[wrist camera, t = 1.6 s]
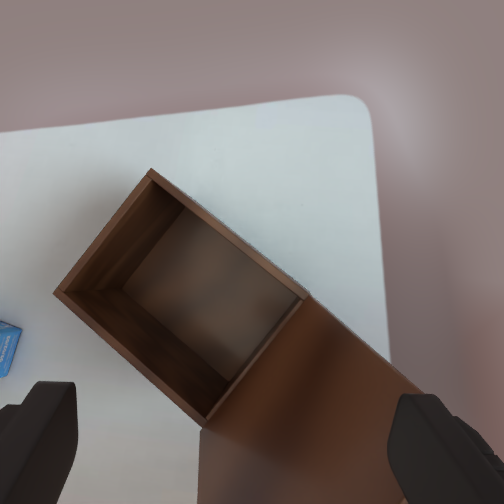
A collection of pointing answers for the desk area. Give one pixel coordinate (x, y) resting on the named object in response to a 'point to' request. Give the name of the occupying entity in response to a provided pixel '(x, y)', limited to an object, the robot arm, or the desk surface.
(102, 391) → the desk surface
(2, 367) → the ink box
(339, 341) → the lid
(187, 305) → the chest
